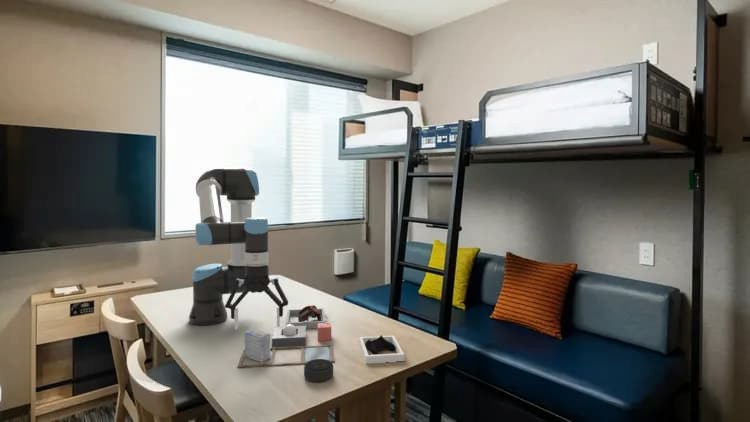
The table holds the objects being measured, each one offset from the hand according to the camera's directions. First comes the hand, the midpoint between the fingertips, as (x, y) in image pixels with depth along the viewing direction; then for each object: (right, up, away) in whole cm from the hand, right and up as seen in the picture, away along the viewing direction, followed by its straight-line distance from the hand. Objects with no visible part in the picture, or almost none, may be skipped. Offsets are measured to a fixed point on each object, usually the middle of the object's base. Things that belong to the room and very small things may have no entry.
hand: (257, 327), depth 140 cm
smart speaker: (+22, -12, -11) cm, 28 cm away
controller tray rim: (+41, -11, +7) cm, 43 cm away
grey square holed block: (+7, -10, +18) cm, 21 cm away
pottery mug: (+12, -9, +37) cm, 40 cm away
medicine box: (0, -11, +1) cm, 11 cm away
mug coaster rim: (+10, -8, +38) cm, 40 cm away
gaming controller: (+41, -11, +7) cm, 43 cm away
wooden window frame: (+10, -11, +3) cm, 15 cm away
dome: (+7, -9, +17) cm, 21 cm away
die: (+20, -10, +20) cm, 30 cm away
